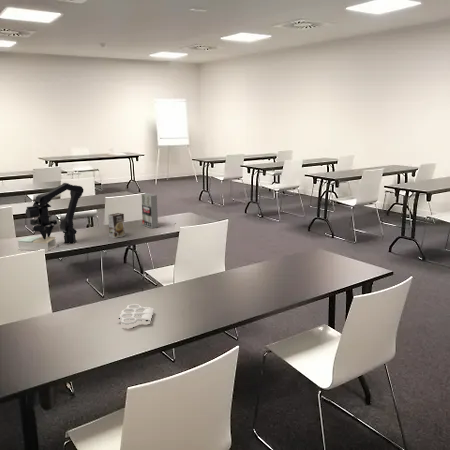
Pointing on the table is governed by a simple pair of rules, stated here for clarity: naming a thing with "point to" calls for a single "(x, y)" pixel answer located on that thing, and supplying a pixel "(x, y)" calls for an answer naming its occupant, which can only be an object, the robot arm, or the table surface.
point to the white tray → (37, 245)
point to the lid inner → (44, 240)
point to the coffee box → (116, 225)
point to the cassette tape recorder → (149, 210)
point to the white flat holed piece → (145, 314)
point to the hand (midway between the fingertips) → (46, 238)
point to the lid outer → (28, 239)
